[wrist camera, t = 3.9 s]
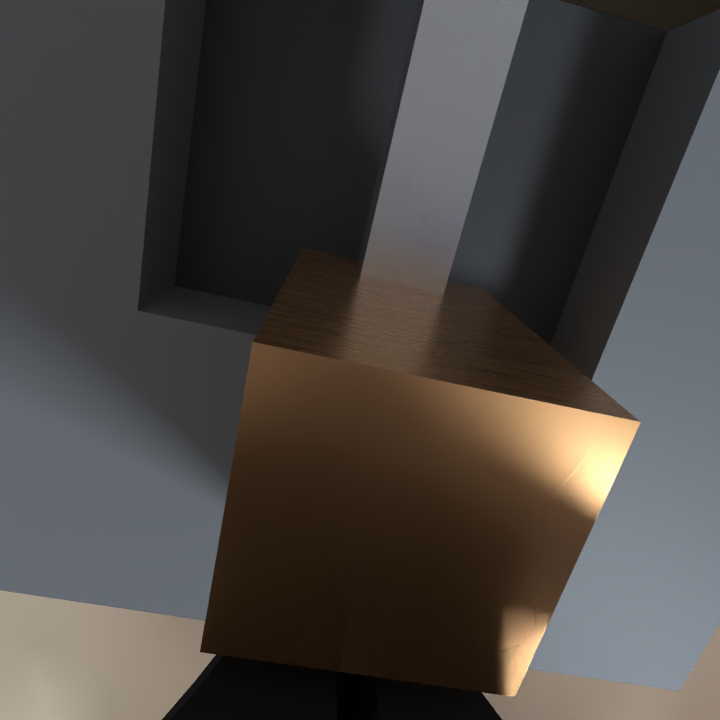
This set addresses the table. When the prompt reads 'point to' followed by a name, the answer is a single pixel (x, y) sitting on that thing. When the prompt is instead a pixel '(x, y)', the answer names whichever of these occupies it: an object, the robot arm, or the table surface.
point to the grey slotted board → (344, 238)
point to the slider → (411, 423)
